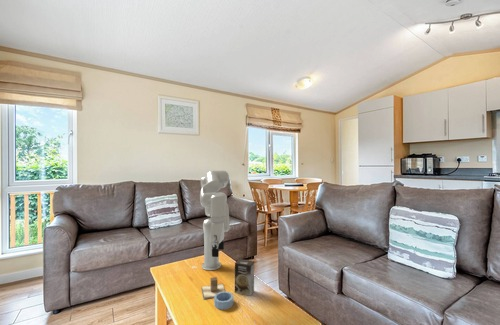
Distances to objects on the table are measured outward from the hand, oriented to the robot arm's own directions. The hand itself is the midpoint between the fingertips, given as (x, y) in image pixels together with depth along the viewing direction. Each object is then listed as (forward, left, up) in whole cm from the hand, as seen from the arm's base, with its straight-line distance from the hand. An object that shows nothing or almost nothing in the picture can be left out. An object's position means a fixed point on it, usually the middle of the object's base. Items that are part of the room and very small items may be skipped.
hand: (218, 252), depth 119 cm
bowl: (+6, +2, -23) cm, 24 cm away
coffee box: (-2, +14, -23) cm, 27 cm away
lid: (-6, -1, -22) cm, 23 cm away
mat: (-6, -1, -23) cm, 24 cm away
